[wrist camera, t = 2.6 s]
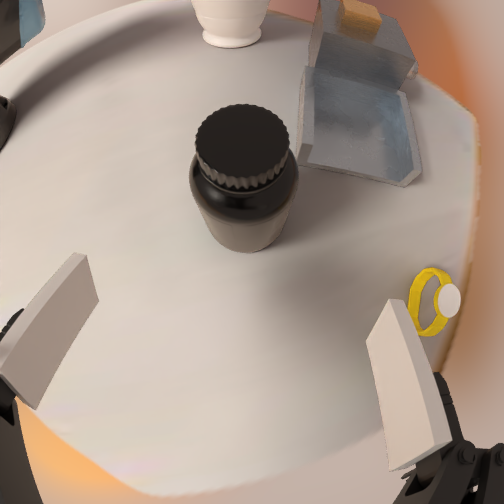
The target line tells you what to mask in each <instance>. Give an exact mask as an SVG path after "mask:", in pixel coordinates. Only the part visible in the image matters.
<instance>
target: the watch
mask: <svg viewBox="0 0 504 504" xmlns="http://www.w3.org/2000/svg"><path fill="white" fill-rule="evenodd" d="M433 275H437V276H438V278H439V281H440V286H439V287H438V288H437V290H436V292H435V295H434V308H435V311H436V313H437V315H436V317H435V319H434V321H433V323H432V324H431V325H430V326H429V327H428V328H426V329H425V330H423V329H422V328H421V327H420V324H419V321H418V313H419V306H420V298H421V292H422V290H423V288H424V286H425V284H426V282H427V281H428V280H429V279H430V278H431V277H432V276H433ZM460 303H461V297H460V292H459V290H458V288H457V287H456V286H455V285H454V284H452V281H451V278H450V276H449V275H448V274H447V273H446V272H444V271H443V270H440V269H437V268H433V267H431V268H425V269H423V270H422V271H421V272H420V273H419V274H418V275H417V276H416V278H415V279H414V281H413V283H412V285H411V287H410V293H409V301H408V308H407V310H408V312H409V314H410V316H411V319H412V321H413V323H414V326H415V328H416V331H417V333H418V336H425V337H427V336H434V335H436V334H437V333H438V332H440V331H441V330H442V329H443V328H444V326H445V325H446V323H447V321H448V319H449V318H451V317H453V316H454V315H455V314H456V313H457V312H458V310H459V307H460Z"/></svg>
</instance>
